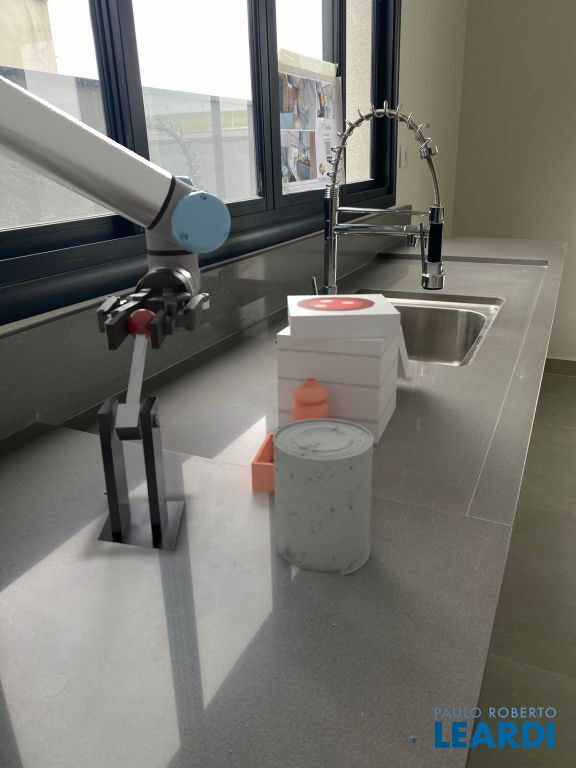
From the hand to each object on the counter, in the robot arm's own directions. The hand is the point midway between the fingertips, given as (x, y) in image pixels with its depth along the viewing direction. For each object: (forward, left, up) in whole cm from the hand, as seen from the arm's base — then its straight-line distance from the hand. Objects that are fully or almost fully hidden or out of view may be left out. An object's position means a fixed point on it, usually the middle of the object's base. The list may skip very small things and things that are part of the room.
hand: (132, 336), depth 62 cm
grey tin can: (+20, -3, -21) cm, 29 cm away
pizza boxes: (+16, +37, -21) cm, 46 cm away
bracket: (+1, -5, -20) cm, 21 cm away
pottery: (+14, +15, -21) cm, 29 cm away
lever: (-1, +1, -5) cm, 5 cm away
